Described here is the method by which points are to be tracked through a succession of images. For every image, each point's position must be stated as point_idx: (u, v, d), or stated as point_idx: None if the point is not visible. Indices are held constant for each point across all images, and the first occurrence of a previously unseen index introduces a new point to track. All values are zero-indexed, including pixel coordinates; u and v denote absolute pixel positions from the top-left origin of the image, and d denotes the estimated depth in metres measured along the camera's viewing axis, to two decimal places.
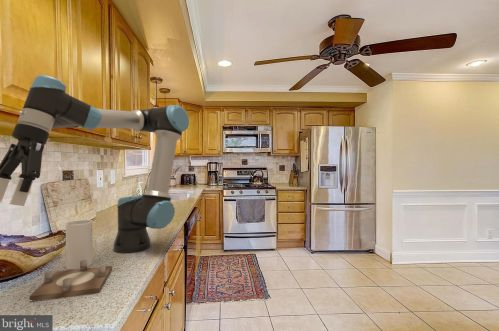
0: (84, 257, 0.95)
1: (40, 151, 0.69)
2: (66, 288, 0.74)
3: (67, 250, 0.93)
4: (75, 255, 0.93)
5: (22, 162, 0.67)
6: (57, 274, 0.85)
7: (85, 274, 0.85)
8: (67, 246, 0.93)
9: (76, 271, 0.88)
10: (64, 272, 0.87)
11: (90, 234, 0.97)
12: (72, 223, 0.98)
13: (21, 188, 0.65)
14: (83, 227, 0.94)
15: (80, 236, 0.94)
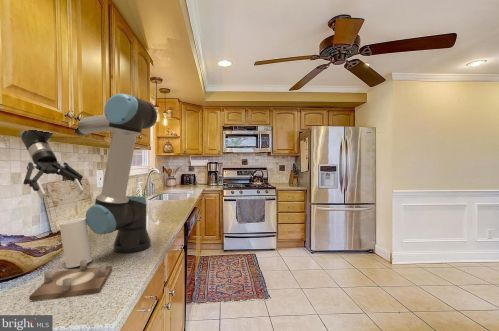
0: (82, 254, 0.95)
1: (29, 166, 1.00)
2: (66, 288, 0.74)
3: (64, 249, 0.93)
4: (73, 253, 0.93)
5: None
6: (57, 274, 0.85)
7: (85, 274, 0.85)
8: (64, 245, 0.93)
9: (76, 271, 0.88)
10: (64, 272, 0.87)
11: (85, 231, 0.97)
12: None
13: None
14: (76, 224, 0.94)
15: (75, 233, 0.94)
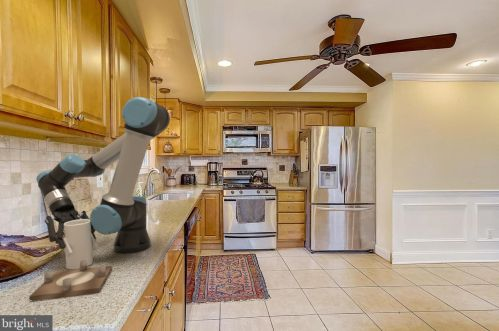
0: (83, 257, 0.94)
1: (48, 221, 0.94)
2: (66, 288, 0.74)
3: None
4: (74, 255, 0.93)
5: None
6: (57, 274, 0.85)
7: (85, 274, 0.85)
8: None
9: (76, 271, 0.88)
10: (64, 272, 0.87)
11: (89, 234, 0.96)
12: (70, 223, 0.98)
13: None
14: (81, 227, 0.94)
15: (78, 236, 0.93)
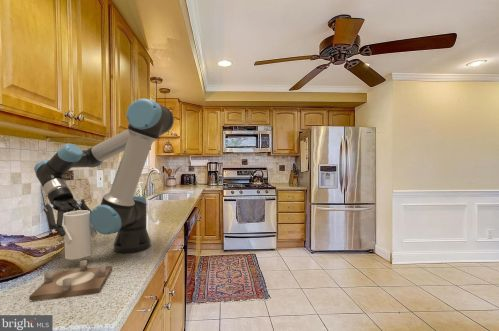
0: (82, 248, 0.94)
1: (47, 209, 0.94)
2: (66, 288, 0.74)
3: None
4: (72, 245, 0.93)
5: None
6: (57, 274, 0.85)
7: (85, 274, 0.85)
8: None
9: (76, 271, 0.88)
10: (64, 272, 0.87)
11: (88, 225, 0.96)
12: (71, 213, 0.98)
13: None
14: (79, 217, 0.94)
15: (77, 226, 0.93)
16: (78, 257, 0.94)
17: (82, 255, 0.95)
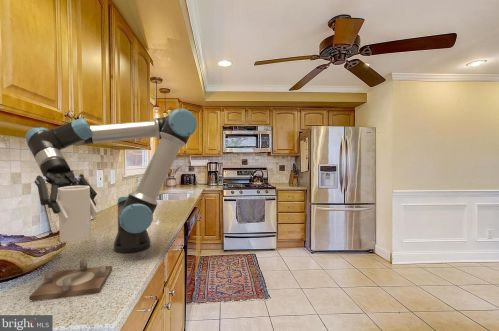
0: (79, 229, 0.79)
1: (39, 181, 0.79)
2: (66, 288, 0.74)
3: (60, 220, 0.78)
4: (69, 226, 0.78)
5: None
6: (57, 274, 0.85)
7: (85, 274, 0.85)
8: None
9: (76, 271, 0.88)
10: (64, 272, 0.87)
11: (87, 202, 0.81)
12: (67, 189, 0.83)
13: None
14: (77, 192, 0.78)
15: (74, 203, 0.78)
16: (75, 240, 0.79)
17: (80, 237, 0.79)
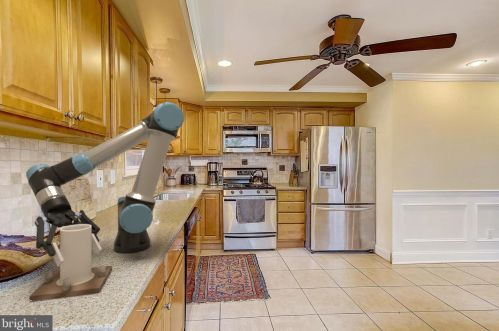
0: (80, 269, 0.80)
1: (38, 223, 0.79)
2: (66, 288, 0.74)
3: None
4: (69, 267, 0.78)
5: None
6: (57, 274, 0.85)
7: None
8: None
9: None
10: None
11: (88, 242, 0.82)
12: (69, 228, 0.84)
13: None
14: (79, 233, 0.79)
15: (75, 244, 0.79)
16: (76, 281, 0.79)
17: (80, 278, 0.80)
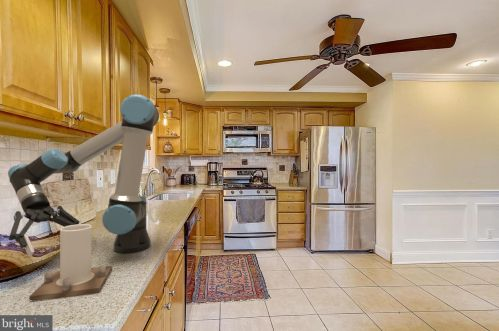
0: (80, 269, 0.80)
1: (16, 217, 0.86)
2: (66, 288, 0.74)
3: (61, 260, 0.79)
4: (70, 267, 0.78)
5: None
6: (57, 274, 0.85)
7: None
8: (61, 256, 0.79)
9: None
10: None
11: (88, 242, 0.82)
12: (69, 228, 0.84)
13: None
14: (79, 233, 0.79)
15: (75, 244, 0.79)
16: (76, 281, 0.79)
17: (81, 278, 0.80)
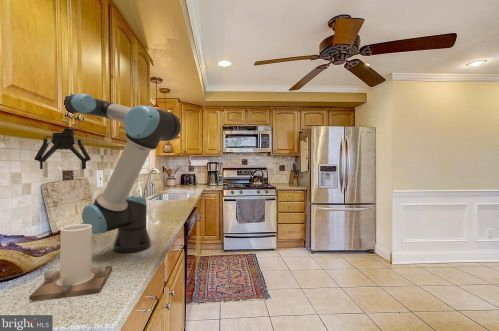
0: (81, 269, 0.80)
1: None
2: (66, 288, 0.74)
3: (61, 260, 0.79)
4: (70, 267, 0.78)
5: None
6: (57, 274, 0.85)
7: None
8: (61, 255, 0.79)
9: None
10: None
11: (89, 242, 0.82)
12: (69, 228, 0.84)
13: None
14: (80, 233, 0.79)
15: (76, 244, 0.79)
16: (76, 280, 0.79)
17: (81, 278, 0.80)
